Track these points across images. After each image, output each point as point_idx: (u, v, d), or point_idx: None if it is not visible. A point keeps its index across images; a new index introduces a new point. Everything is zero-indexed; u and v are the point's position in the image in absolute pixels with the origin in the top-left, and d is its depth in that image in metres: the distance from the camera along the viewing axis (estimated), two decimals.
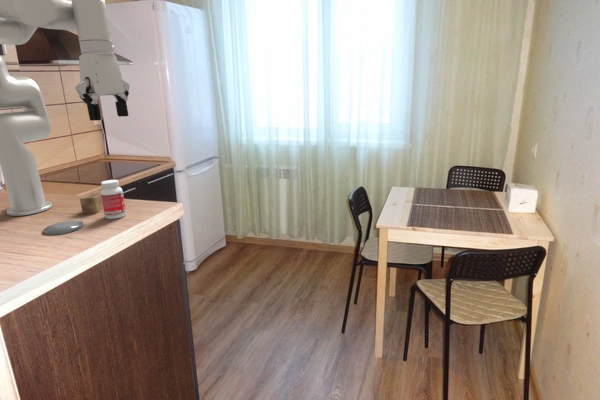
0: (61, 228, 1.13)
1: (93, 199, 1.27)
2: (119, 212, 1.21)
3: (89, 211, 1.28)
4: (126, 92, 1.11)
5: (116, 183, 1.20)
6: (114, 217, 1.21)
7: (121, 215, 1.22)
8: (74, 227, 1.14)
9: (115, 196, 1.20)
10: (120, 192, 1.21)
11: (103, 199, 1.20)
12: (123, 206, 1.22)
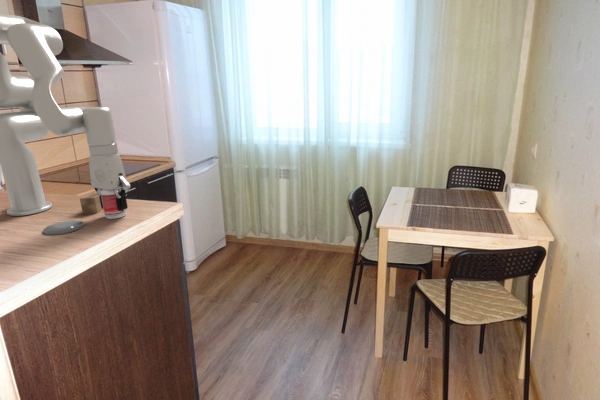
0: (61, 228, 1.13)
1: (93, 199, 1.27)
2: (119, 212, 1.21)
3: (89, 211, 1.28)
4: None
5: None
6: (114, 217, 1.21)
7: (121, 215, 1.22)
8: (74, 227, 1.14)
9: (115, 196, 1.20)
10: None
11: (103, 199, 1.20)
12: None
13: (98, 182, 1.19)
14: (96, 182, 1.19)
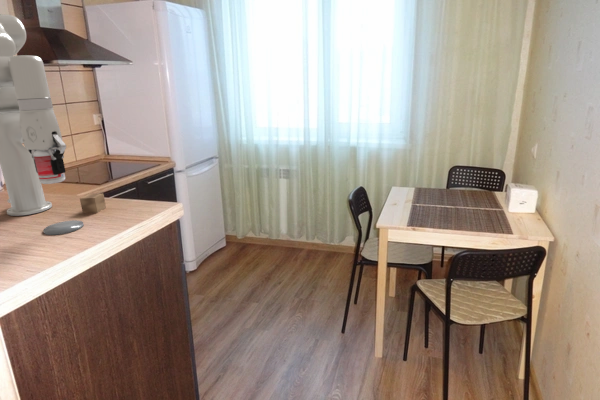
0: (61, 228, 1.13)
1: (93, 199, 1.27)
2: (55, 176, 1.08)
3: (89, 211, 1.28)
4: None
5: None
6: (49, 182, 1.08)
7: (57, 180, 1.09)
8: (74, 227, 1.14)
9: (49, 158, 1.07)
10: None
11: (36, 161, 1.07)
12: None
13: (30, 142, 1.06)
14: (28, 142, 1.06)
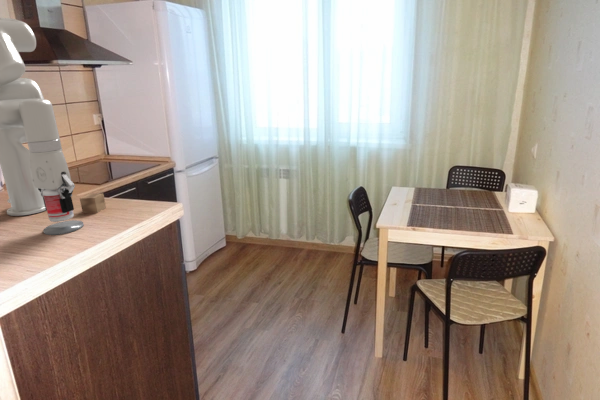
0: (61, 228, 1.13)
1: (93, 199, 1.27)
2: (64, 214, 1.12)
3: (89, 211, 1.28)
4: None
5: None
6: (58, 220, 1.11)
7: (66, 218, 1.12)
8: (74, 227, 1.14)
9: (58, 197, 1.10)
10: None
11: (45, 200, 1.10)
12: None
13: (40, 182, 1.09)
14: (38, 182, 1.09)
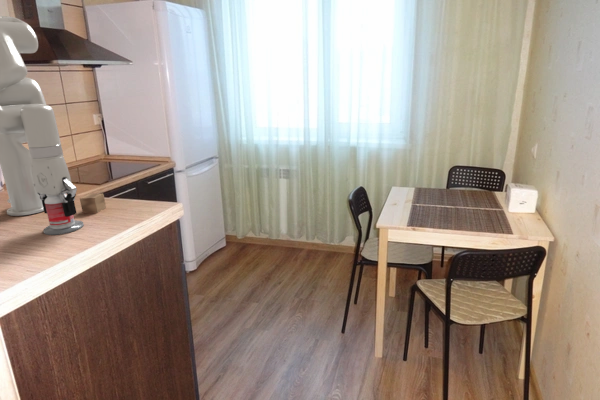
0: None
1: (93, 199, 1.27)
2: (65, 222, 1.13)
3: (89, 211, 1.28)
4: None
5: None
6: (59, 227, 1.12)
7: (67, 226, 1.13)
8: (74, 227, 1.14)
9: (60, 205, 1.11)
10: None
11: (47, 208, 1.11)
12: None
13: (41, 187, 1.09)
14: (39, 187, 1.10)
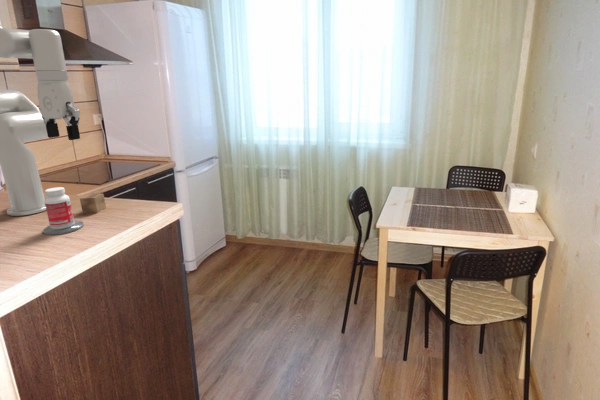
0: None
1: (93, 199, 1.27)
2: (65, 222, 1.13)
3: (89, 211, 1.28)
4: None
5: (61, 191, 1.11)
6: (59, 227, 1.12)
7: (67, 226, 1.13)
8: (74, 227, 1.14)
9: (60, 205, 1.11)
10: (66, 201, 1.12)
11: (47, 208, 1.11)
12: (70, 215, 1.14)
13: (46, 111, 1.14)
14: (44, 111, 1.14)
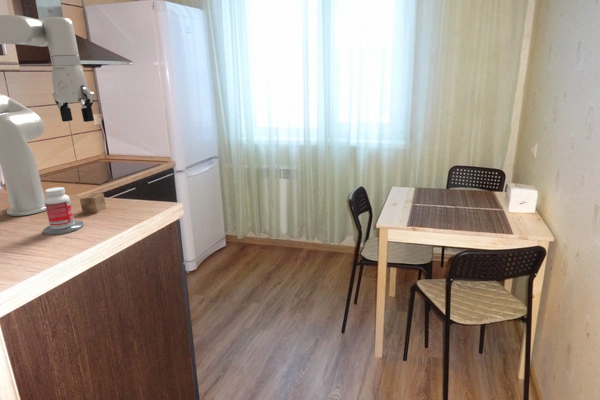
0: None
1: (93, 199, 1.27)
2: (65, 222, 1.13)
3: (89, 211, 1.28)
4: None
5: (61, 191, 1.11)
6: (59, 227, 1.12)
7: (67, 226, 1.13)
8: (74, 227, 1.14)
9: (60, 205, 1.11)
10: (66, 201, 1.12)
11: (47, 208, 1.11)
12: (70, 215, 1.14)
13: (61, 95, 1.20)
14: (59, 95, 1.21)
